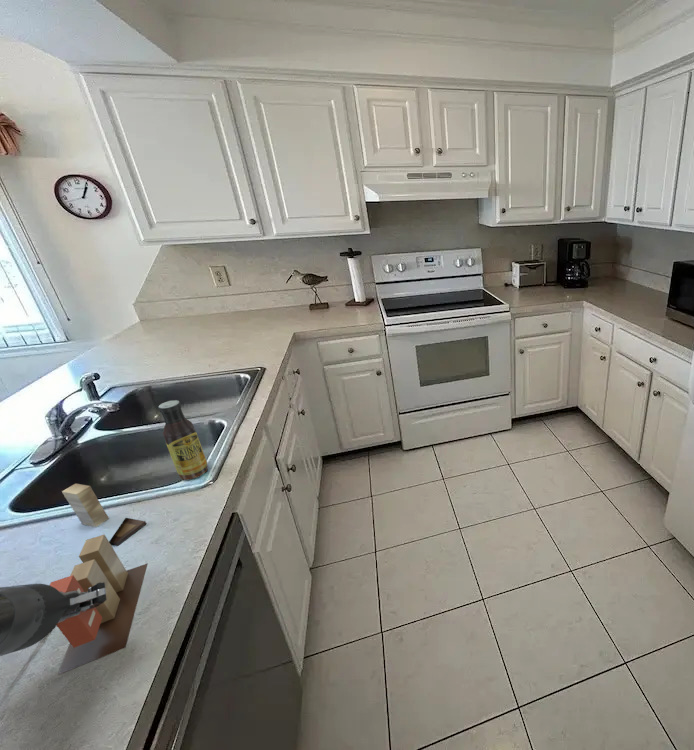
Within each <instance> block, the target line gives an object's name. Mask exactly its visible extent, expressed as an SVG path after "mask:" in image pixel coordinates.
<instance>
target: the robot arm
mask: <svg viewBox="0 0 694 750" xmlns="http://www.w3.org/2000/svg"><path fill="white" fill-rule="evenodd" d="M106 600H107V599H106V589H105V582H103V583H101V582H100V583H97V585H94V586H93V587H90V588H88V592H81V593H79V592H78V591H77V590H75V591H70V592H65V593H63V592H62V591H60V592H59V591H58V590H57V589H55V588H54V587H52V586H50V584H47V583H29V584H20V585H10V586H1V587H0V657H3V656H5V655H8V654H12V653H15V652H18V651H22V650H25V649H27V648H30V647H32V646H34V645H36V644H38V643H39V642H41V641H42V640H44V639H45V638H46V637H47V636H48V635H50V633H52V632H53V630H54V629H55V628H56V627H57V624H58V623H59V622H62V621H64V620H65V619H69V618H71V617H74V616H77V615H79V614H80V612H81V611H82V612H84V611H86V610H88V609H92V608H95V607H97V606H100V604H102V603H104V602H105V601H106Z"/></svg>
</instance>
